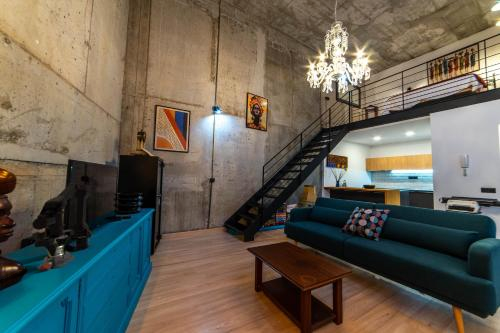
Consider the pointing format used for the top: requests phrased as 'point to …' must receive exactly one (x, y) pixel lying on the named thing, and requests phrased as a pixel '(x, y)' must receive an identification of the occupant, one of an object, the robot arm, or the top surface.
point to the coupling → (58, 251)
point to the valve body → (55, 261)
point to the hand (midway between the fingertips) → (56, 254)
